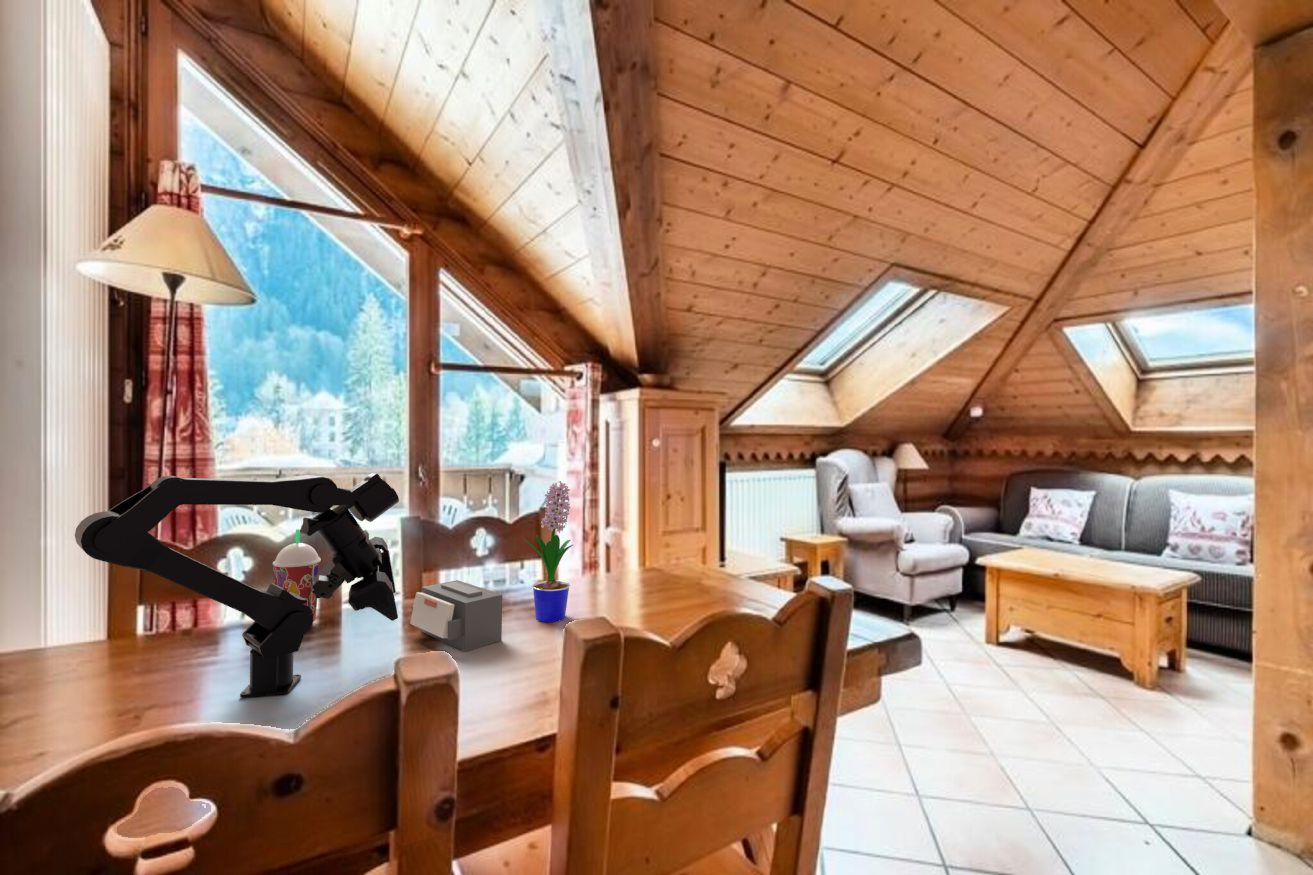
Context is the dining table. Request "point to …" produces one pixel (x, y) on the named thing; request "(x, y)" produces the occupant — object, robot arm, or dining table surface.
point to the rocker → (432, 614)
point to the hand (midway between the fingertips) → (394, 605)
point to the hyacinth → (552, 558)
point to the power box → (469, 614)
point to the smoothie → (298, 571)
